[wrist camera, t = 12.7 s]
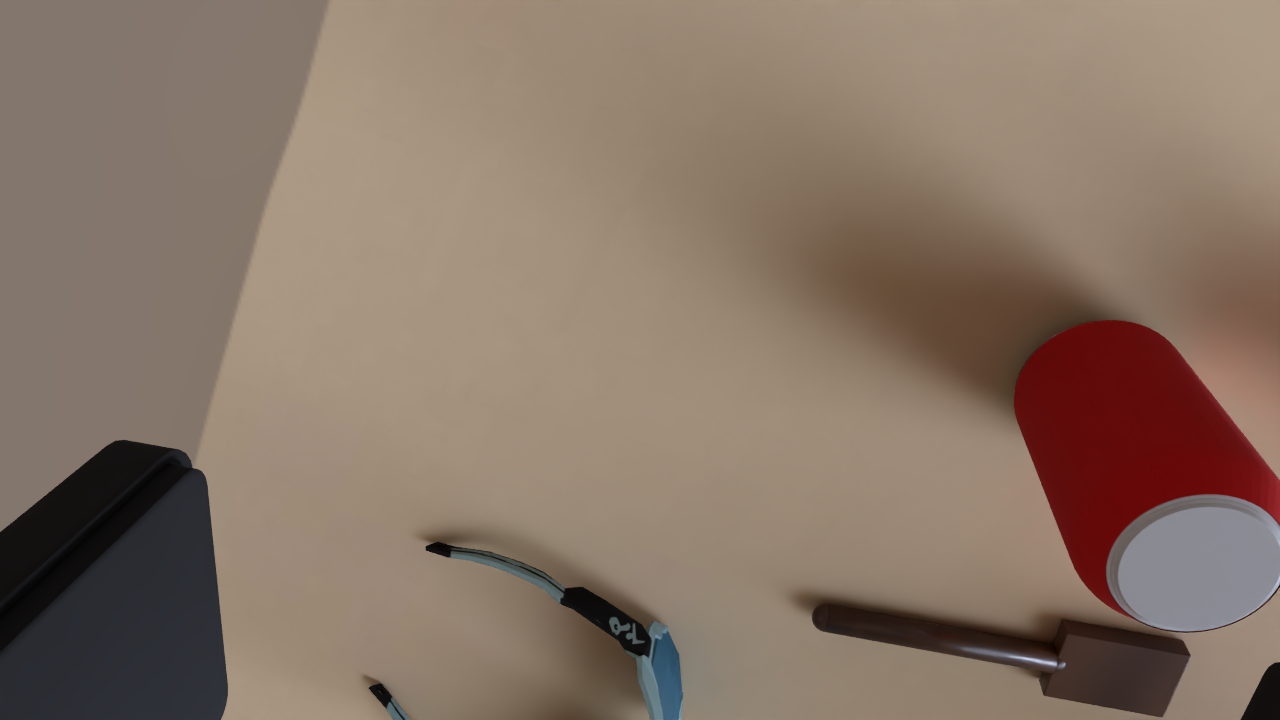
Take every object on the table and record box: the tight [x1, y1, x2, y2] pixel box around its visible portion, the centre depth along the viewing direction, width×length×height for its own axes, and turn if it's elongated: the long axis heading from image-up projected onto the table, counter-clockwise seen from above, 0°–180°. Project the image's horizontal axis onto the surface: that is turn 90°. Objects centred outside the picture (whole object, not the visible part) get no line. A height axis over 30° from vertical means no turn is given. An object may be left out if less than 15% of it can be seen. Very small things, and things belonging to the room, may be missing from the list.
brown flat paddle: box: [812, 604, 1191, 717], centre depth 45 cm, size 16×4×1 cm, turn 84°
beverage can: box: [1014, 320, 1280, 633], centre depth 34 cm, size 6×6×12 cm
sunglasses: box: [369, 542, 683, 720], centre depth 48 cm, size 14×15×5 cm
